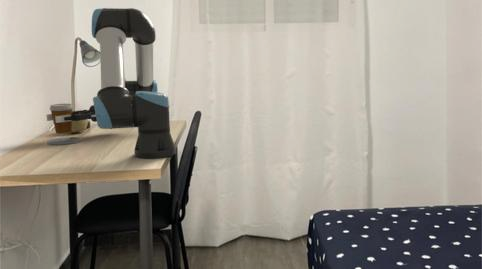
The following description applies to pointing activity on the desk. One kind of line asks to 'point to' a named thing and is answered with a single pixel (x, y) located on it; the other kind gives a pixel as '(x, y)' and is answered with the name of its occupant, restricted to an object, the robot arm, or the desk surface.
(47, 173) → the desk surface
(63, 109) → the disposable coffee cup
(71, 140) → the saucer
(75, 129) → the tan rounded lump
